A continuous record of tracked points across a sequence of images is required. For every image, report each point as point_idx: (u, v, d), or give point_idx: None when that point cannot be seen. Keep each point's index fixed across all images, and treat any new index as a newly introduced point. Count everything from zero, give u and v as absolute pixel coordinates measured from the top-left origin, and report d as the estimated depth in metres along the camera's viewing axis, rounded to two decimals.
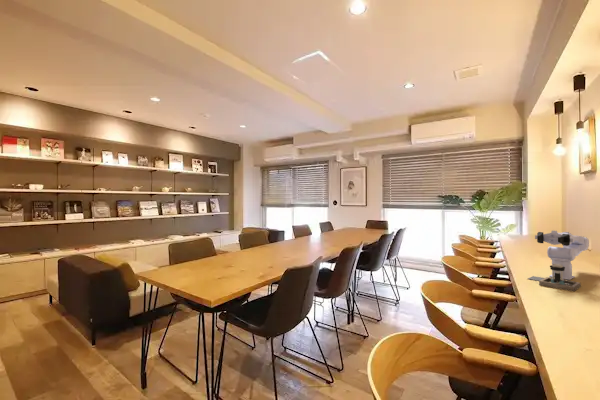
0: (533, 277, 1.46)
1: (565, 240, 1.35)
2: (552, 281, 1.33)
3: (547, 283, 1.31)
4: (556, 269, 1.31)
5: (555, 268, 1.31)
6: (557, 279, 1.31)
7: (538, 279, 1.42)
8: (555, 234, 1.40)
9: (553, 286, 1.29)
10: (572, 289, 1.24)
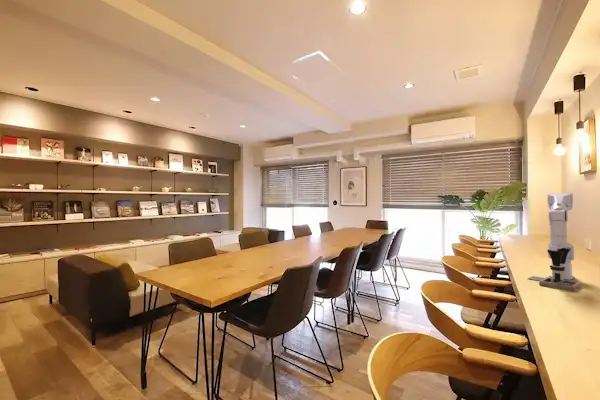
0: (533, 277, 1.46)
1: None
2: (552, 281, 1.33)
3: (547, 283, 1.31)
4: (556, 269, 1.31)
5: (555, 268, 1.31)
6: (557, 279, 1.31)
7: (538, 279, 1.42)
8: None
9: (553, 286, 1.29)
10: (572, 289, 1.24)
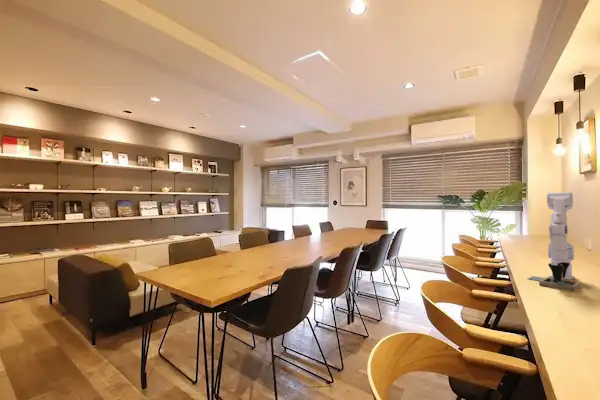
0: (533, 277, 1.46)
1: (560, 263, 1.34)
2: (552, 281, 1.33)
3: (547, 283, 1.31)
4: None
5: None
6: None
7: (538, 279, 1.42)
8: None
9: (553, 286, 1.29)
10: (572, 289, 1.24)
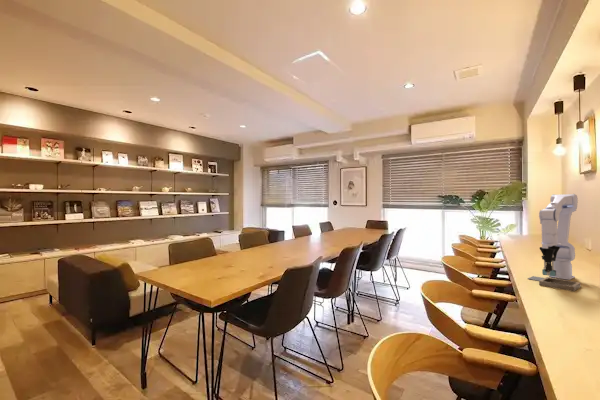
0: (533, 277, 1.46)
1: (551, 247, 1.39)
2: (543, 271, 1.38)
3: (547, 283, 1.31)
4: None
5: None
6: (548, 269, 1.36)
7: (538, 279, 1.42)
8: None
9: (553, 286, 1.29)
10: (572, 289, 1.24)
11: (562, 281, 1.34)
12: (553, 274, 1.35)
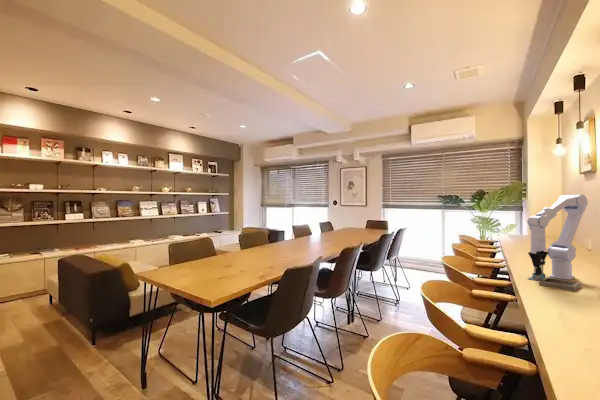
0: None
1: None
2: (533, 274, 1.44)
3: (547, 283, 1.31)
4: None
5: None
6: (538, 272, 1.42)
7: (538, 279, 1.42)
8: None
9: (553, 286, 1.29)
10: (572, 289, 1.24)
11: (562, 281, 1.34)
12: (542, 278, 1.41)
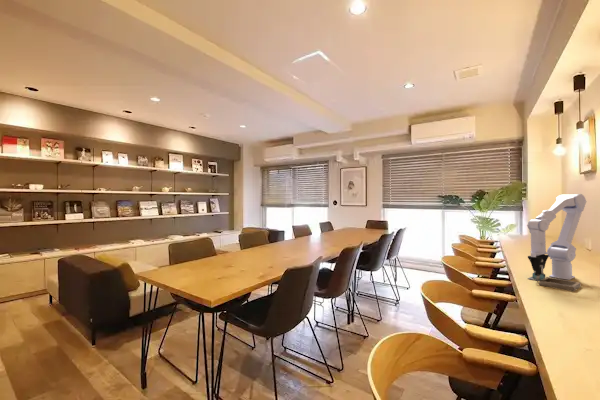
0: None
1: None
2: (533, 274, 1.44)
3: (547, 283, 1.31)
4: None
5: None
6: (538, 272, 1.42)
7: (538, 279, 1.42)
8: None
9: (553, 286, 1.29)
10: (572, 289, 1.24)
11: (562, 281, 1.34)
12: (542, 278, 1.41)
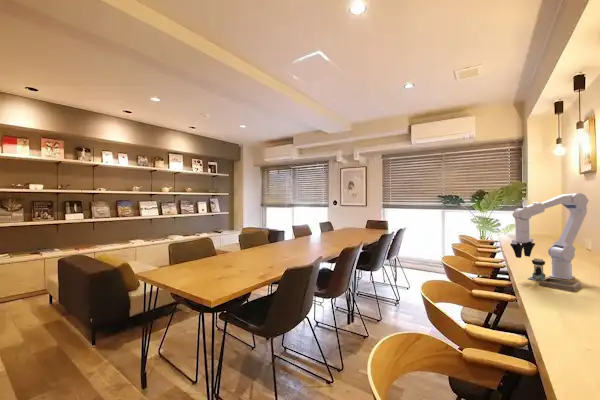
0: None
1: None
2: (533, 274, 1.44)
3: (547, 283, 1.31)
4: (536, 263, 1.42)
5: (535, 262, 1.42)
6: (538, 272, 1.42)
7: (538, 279, 1.42)
8: None
9: (553, 286, 1.29)
10: (572, 289, 1.24)
11: (562, 281, 1.34)
12: (542, 278, 1.41)
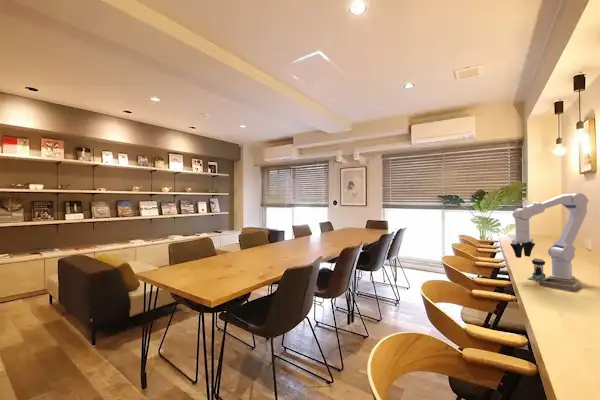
0: None
1: None
2: (533, 274, 1.44)
3: (547, 283, 1.31)
4: (536, 263, 1.42)
5: (535, 262, 1.42)
6: (538, 272, 1.42)
7: (538, 279, 1.42)
8: None
9: (553, 286, 1.29)
10: (572, 289, 1.24)
11: (562, 281, 1.34)
12: (542, 278, 1.41)
